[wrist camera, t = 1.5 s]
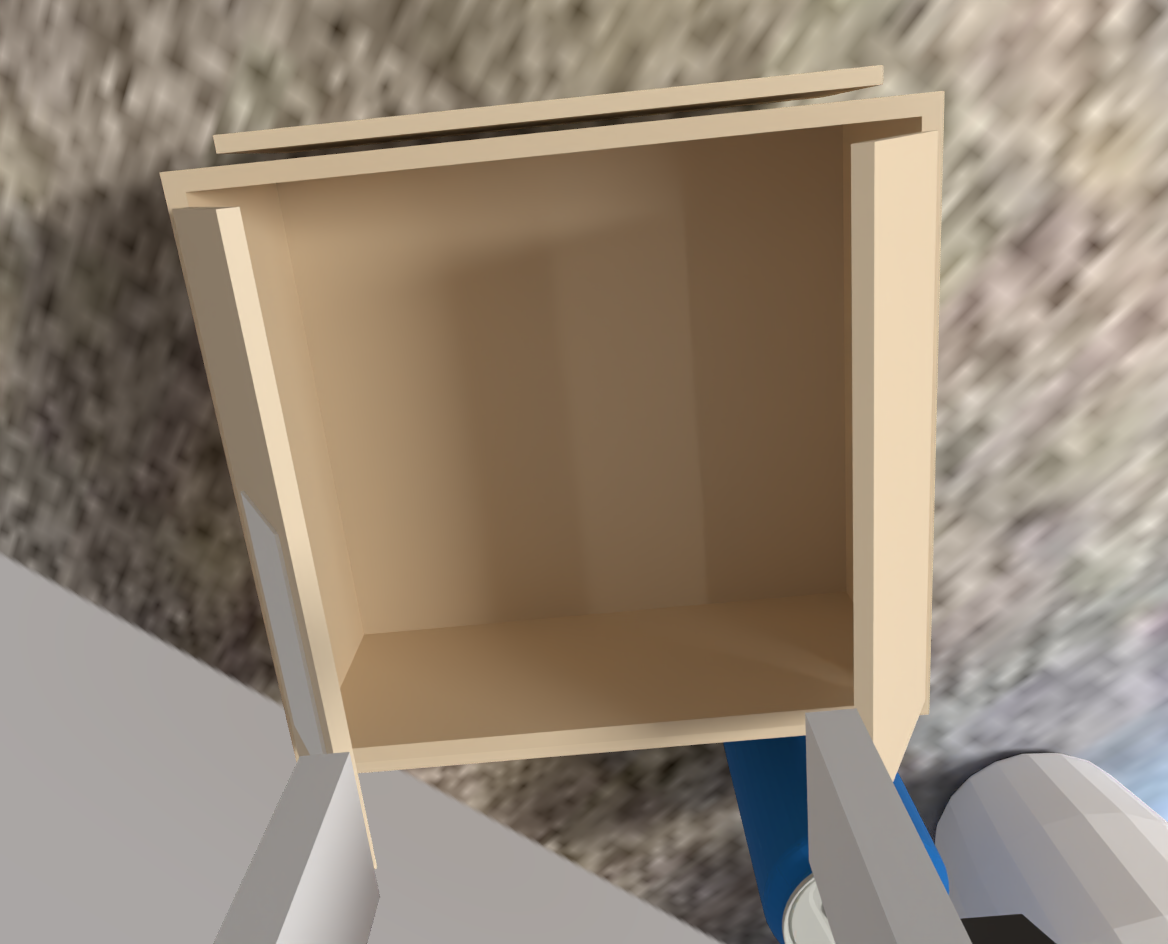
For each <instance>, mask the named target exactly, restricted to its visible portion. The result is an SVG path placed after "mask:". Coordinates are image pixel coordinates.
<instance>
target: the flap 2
mask: <svg viewBox="0 0 1168 944" xmlns="http://www.w3.org/2000/svg"><path fill="white" fill-rule="evenodd" d="M937 150H938V130H935V131H924V132H916V133H910V134H905V135H899V136H893V137H888V138H882V139H876V140H871V141H865V142H859V143H854V144H851V245H852V428H853V612H854V708H857V710H858V712H859V715H860V717H861V719H862V721H863V723H864V725H865V727H866V729H867V731H868V733H869V735H870V737H871V739H872V741H873V743H874V745H875V747H876V749H877V751H878V753H879V755H880V757H881V759H882V761H883V763H884V765H885V767H886V769H887V771H888V773H889V775H890V777H891V779H892V782H893V781H894V779H895V776H896V774H897V771H898V768H899V766H900V763H901V761H902V758H903V756H904V753H905V751H906V748H907V745H908V743H909V740H910V738H911V735H912V733H913V730H914V727H915V725H916V722H917V720H918V717H919V715H920V712H921V709H922V707H923V704H924V702H925V677H926V633H927V589H928V545H929V501H930V457H931V413H932V370H933V326H934V282H935V238H936V194H937Z"/></svg>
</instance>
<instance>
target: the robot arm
mask: <svg viewBox="0 0 1168 944" xmlns="http://www.w3.org/2000/svg"><path fill="white" fill-rule="evenodd" d="M805 724H806V764H807V804H808V843H809V863H810V866H811V869H812V872H813V875H814V879H815V882H816V885H817V888H818V891H819V894H820V897H821V900H822V903H823V907H824V910H825V913H826V916H827V919H828V922H829V925H830V928H831V932H832V935H833V938H834V941H835V944H1056V943H1055V942H1054V941H1053V940H1051V939H1050V938H1049V937H1048V936H1047V935H1046V934H1045V933H1043V932H1042V931H1041V930H1040V929H1039V928H1038V927H1037V926H1035V925H1034V924H1033V923H1032V922H1031V921H1030V920H1028V919H1027V918H1026V917H1025V916H1024V915H1023V914H1012V915H1000V916H987V917H974V918H962V919H960V918H959V916H958V914H957V911H956V909H955V907H954V905H953V903H952V901H951V899H950V897H949V895H948V893H947V891H946V889H945V887H944V885H943V883H942V881H941V879H940V877H939V875H938V873H937V871H936V869H935V867H934V865H933V863H932V861H931V859H930V857H929V855H928V853H927V851H926V849H925V847H924V844H923V842H922V840H921V838H920V836H919V834H918V832H917V830H916V828H915V826H914V824H913V822H912V820H911V818H910V816H909V814H908V812H907V810H906V808H905V806H904V804H903V802H902V800H901V798H900V796H899V794H898V792H897V790H896V788H895V786H894V784H893V782H892V779H891V777H890V775H889V773H888V771H887V769H886V767H885V765H884V763H883V761H882V759H881V757H880V755H879V753H878V751H877V749H876V747H875V745H874V743H873V741H872V739H871V737H870V735H869V733H868V731H867V729H866V727H865V725H864V723H863V721H862V719H861V717H860V715H859V712H858V710H857V708H854V709H843V710H831V711H819V712H808V713H805ZM379 898H380V894H379V889H378V885H377V880H376V875H375V870H374V865H373V861H372V856H371V851H370V846H369V842H368V837H367V832H366V827H365V823H364V818H363V813H362V808H361V804H360V799H359V794H358V789H357V785H356V780H355V775H354V770H353V766H352V761H351V756H350V752H342V753H330V754H319V755H307V756H300V757H299V759H298V761H297V764H296V766H295V768H294V770H293V772H292V775H291V777H290V779H289V781H288V783H287V785H286V787H285V789H284V792H283V794H282V796H281V798H280V800H279V802H278V805H277V807H276V809H275V811H274V813H273V815H272V818H271V820H270V822H269V824H268V826H267V828H266V830H265V833H264V835H263V837H262V839H261V841H260V843H259V846H258V848H257V850H256V852H255V854H254V857H253V859H252V861H251V863H250V865H249V867H248V869H247V872H246V874H245V876H244V878H243V881H242V882H241V885H240V887H239V889H238V891H237V893H236V895H235V898H234V900H233V902H232V904H231V906H230V908H229V911H228V913H227V915H226V917H225V919H224V921H223V923H222V926H221V928H220V930H219V932H218V934H217V937H216V939H215V941H214V943H213V944H367V942H368V939H369V935H370V931H371V928H372V924H373V920H374V916H375V913H376V909H377V905H378V901H379Z"/></svg>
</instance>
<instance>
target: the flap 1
mask: <svg viewBox="0 0 1168 944" xmlns="http://www.w3.org/2000/svg"><path fill="white" fill-rule="evenodd" d="M172 212H173V216H174V220H175V225H176V229H177V233H178V237H179V242H180V246H181V250H182V255H183V259H184V263H185V268H186V272H187V276H188V281H189V285H190V289H191V294H192V298H193V302H194V307H195V311H196V315H197V320H198V324H199V328H200V333H201V337H202V341H203V346H204V350H205V354H206V359H207V363H208V367H209V372H210V376H211V380H212V385H213V389H214V393H215V398H216V402H217V406H218V411H219V415H220V419H221V423H222V428H223V432H224V436H225V441H226V445H227V449H228V454H229V458H230V462H231V467H232V471H233V475H234V480H235V484H236V488H237V493H238V497H239V501H240V506H241V510H242V514H243V519H244V523H245V527H246V532H247V536H248V540H249V545H250V549H251V553H252V558H253V562H254V566H255V571H256V575H257V579H258V584H259V588H260V592H261V597H262V601H263V605H264V609H265V614H266V618H267V622H268V627H269V631H270V635H271V640H272V644H273V648H274V653H275V657H276V661H277V666H278V670H279V674H280V679H281V683H282V687H283V692H284V696H285V700H286V705H287V709H288V713H289V718H290V722H291V726H292V731H293V735H294V739H295V744H296V748H297V752H298V755H299V757H300V756H307V755H319V754H330V753H342V752H350V756H351V761H352V766H353V770H354V775H355V780H356V785H357V789H358V794H359V799H360V804H361V808H362V813H363V818H364V823H365V827H366V832H367V837H368V842H369V846H370V851H371V856H372V861H373V865H374V869H376V868H377V864H376V860H375V855H374V850H373V845H372V841H371V835H370V831H369V826H368V821H367V816H366V812H365V807H364V802H363V797H362V792H361V787H360V783H359V778H358V773H357V768H356V763H355V759H354V754H353V749H352V744H351V739H350V735H349V730H348V725H347V720H346V716H345V711H344V706H343V701H342V696H341V692H340V687H339V682H338V677H337V672H336V668H335V663H334V658H333V653H332V648H331V644H330V639H329V634H328V629H327V624H326V620H325V615H324V610H323V605H322V600H321V596H320V591H319V586H318V581H317V577H316V572H315V567H314V562H313V557H312V553H311V548H310V543H309V538H308V533H307V529H306V524H305V519H304V514H303V509H302V505H301V500H300V495H299V490H298V485H297V481H296V476H295V471H294V466H293V461H292V457H291V452H290V447H289V442H288V438H287V433H286V428H285V423H284V418H283V414H282V409H281V404H280V399H279V394H278V390H277V385H276V380H275V375H274V370H273V366H272V361H271V356H270V351H269V346H268V342H267V337H266V332H265V327H264V322H263V318H262V313H261V308H260V303H259V298H258V294H257V289H256V284H255V279H254V275H253V270H252V265H251V260H250V255H249V251H248V246H247V241H246V236H245V231H244V227H243V222H242V217H241V212H240V207H185V208H176V209H172Z"/></svg>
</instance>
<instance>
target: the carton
mask: <svg viewBox="0 0 1168 944" xmlns="http://www.w3.org/2000/svg"><path fill="white" fill-rule="evenodd" d="M882 84H883V65H878V66H869V67H859V68H850V69H840V70H831V71H821V72H812V73H802V74H793V75H783V76H773V77H764V78H754V79H745V80H735V81H726V82H716V83H707V84H697V85H688V86H678V87H669V88H659V89H650V90H640V91H630V92H621V93H611V94H602V95H592V96H583V97H573V98H564V99H554V100H545V101H535V102H526V103H516V104H507V105H497V106H487V107H478V108H468V109H459V110H449V111H440V112H430V113H421V114H411V115H402V116H392V117H383V118H373V119H363V120H354V121H344V122H335V123H325V124H316V125H306V126H297V127H287V128H278V129H268V130H259V131H249V132H240V133H230V134H220V135H213V138H214V143H215V148H216V152H217V154H236V153H292V152H301V151H311V150H320V149H330V148H340V147H349V146H359V145H369V144H378V143H388V142H397V141H407V140H417V139H426V138H436V137H445V136H455V135H465V134H474V133H484V132H493V131H503V130H513V129H522V128H532V127H541V126H551V125H561V124H570V123H580V122H589V121H599V120H609V119H618V118H628V117H637V116H647V115H657V114H666V113H676V112H686V111H695V110H705V109H714V108H724V107H734V106H743V105H753V104H762V103H772V102H782V101H791V100H801V99H810V98H820V97H826V96H831V95H835V94H840V93H845V92H849V91H854V90H859V89H863V88H868V87H873V86H877V85H882ZM943 129H944V91H937V92H928V93H918V94H909V95H899V96H889V97H880V98H870V99H860V100H851V101H841V102H832V103H822V104H812V105H803V106H793V107H783V108H774V109H764V110H755V111H745V112H735V113H726V114H716V115H707V116H697V117H687V118H678V119H668V120H658V121H649V122H639V123H630V124H620V125H610V126H601V127H591V128H581V129H572V130H562V131H553V132H543V133H533V134H524V135H514V136H504V137H495V138H485V139H476V140H466V141H456V142H447V143H437V144H427V145H418V146H408V147H399V148H389V149H379V150H370V151H360V152H350V153H341V154H331V155H322V156H312V157H302V158H293V159H283V160H273V161H264V162H254V163H245V164H235V165H225V166H216V167H206V168H196V169H187V170H177V171H168V172H159V173H160V177H161V181H162V185H163V190H164V194H165V198H166V203H167V207H168V211H169V216H170V220H171V224H172V228H173V233H174V237H175V241H176V246H177V250H178V254H179V259H180V263H181V267H182V271H183V276H184V280H185V284H186V289H187V293H188V297H189V302H190V306H191V310H192V314H193V319H194V323H195V327H196V332H197V336H198V340H199V345H200V349H201V353H202V357H203V362H204V366H205V370H206V375H207V379H208V383H209V388H210V392H211V396H212V400H213V405H214V409H215V413H216V418H217V422H218V426H219V431H220V435H221V439H222V443H223V448H224V452H225V456H226V461H227V465H228V469H229V474H230V478H231V482H232V487H233V491H234V495H235V499H236V504H237V508H238V512H239V517H240V521H241V525H242V530H243V534H244V538H245V542H246V547H247V551H248V555H249V560H250V564H251V568H252V573H253V577H254V581H255V585H256V590H257V594H258V598H259V603H260V607H261V611H262V616H263V620H264V624H265V628H266V633H267V637H268V641H269V646H270V650H271V654H272V659H273V663H274V667H275V671H276V676H277V680H278V684H279V689H280V693H281V697H282V702H283V706H284V710H285V714H286V719H287V723H288V727H289V732H290V736H291V740H292V745H293V749H294V753H295V757H296V762H297V761H298V759H299V755H298V752H297V748H296V744H295V739H294V735H293V731H292V726H291V722H290V718H289V713H288V709H287V705H286V700H285V696H284V692H283V687H282V683H281V679H280V674H279V670H278V666H277V661H276V657H275V653H274V648H273V644H272V640H271V635H270V631H269V627H268V622H267V618H266V614H265V609H264V605H263V601H262V597H261V592H260V588H259V584H258V579H257V575H256V571H255V566H254V562H253V558H252V553H251V549H250V545H249V540H248V536H247V532H246V527H245V523H244V519H243V514H242V510H241V506H240V501H239V497H238V493H237V488H236V484H235V480H234V475H233V471H232V467H231V462H230V458H229V454H228V449H227V445H226V441H225V436H224V432H223V428H222V423H221V419H220V415H219V411H218V406H217V402H216V398H215V393H214V389H213V385H212V380H211V376H210V372H209V367H208V363H207V359H206V354H205V350H204V346H203V341H202V337H201V333H200V328H199V324H198V320H197V315H196V311H195V307H194V302H193V298H192V294H191V289H190V285H189V281H188V276H187V272H186V268H185V263H184V259H183V255H182V250H181V246H180V242H179V237H178V233H177V229H176V225H175V220H174V216H173V212H172V209H176V208H185V207H240V212H241V217H242V222H243V227H244V231H245V236H246V241H247V246H248V251H249V255H250V260H251V265H252V270H253V275H254V279H255V284H256V289H257V294H258V298H259V303H260V308H261V313H262V318H263V322H264V327H265V332H266V337H267V342H268V346H269V351H270V356H271V361H272V366H273V370H274V375H275V380H276V385H277V390H278V394H279V399H280V404H281V409H282V414H283V418H284V423H285V428H286V433H287V438H288V442H289V447H290V452H291V457H292V461H293V466H294V471H295V476H296V481H297V485H298V490H299V495H300V500H301V505H302V509H303V514H304V519H305V524H306V529H307V533H308V538H309V543H310V548H311V553H312V557H313V562H314V567H315V572H316V577H317V581H318V586H319V591H320V596H321V600H322V605H323V610H324V615H325V620H326V624H327V629H328V634H329V639H330V644H331V648H332V653H333V658H334V663H335V668H336V672H337V677H338V682H339V687H340V692H341V696H342V701H343V706H344V711H345V716H346V720H347V725H348V730H349V735H350V739H351V744H352V749H353V754H354V759H355V763H356V768H357V773H366V772H379V771H390V770H402V769H414V768H426V767H437V766H449V765H461V764H473V763H485V762H496V761H508V760H520V759H532V758H543V757H555V756H567V755H579V754H591V753H602V752H614V751H626V750H638V749H650V748H661V747H673V746H685V745H697V744H708V743H720V742H732V741H744V740H756V739H767V738H779V737H791V736H803V735H806V724H805V713H808V712H819V711H831V710H843V709H854V612H853V428H852V245H851V144H854V143H859V142H865V141H871V140H876V139H882V138H888V137H893V136H899V135H905V134H910V133H916V132H924V131H935V130H938V150H937V194H936V238H935V282H934V326H933V370H932V413H931V457H930V501H929V545H928V589H927V633H926V677H925V702H924V704H923V707H922V709H921V712H920V715H927V714H929V700H930V659H931V618H932V577H933V536H934V496H935V455H936V414H937V373H938V333H939V292H940V251H941V210H942V170H943Z"/></svg>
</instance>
